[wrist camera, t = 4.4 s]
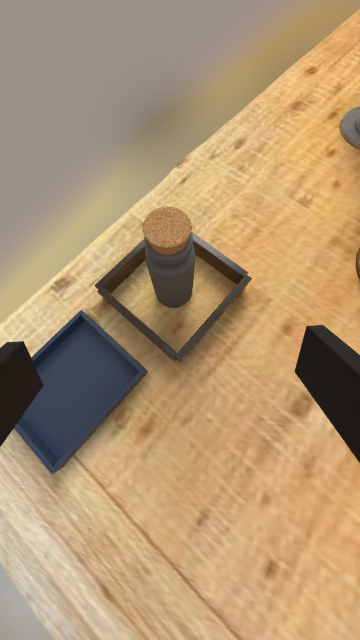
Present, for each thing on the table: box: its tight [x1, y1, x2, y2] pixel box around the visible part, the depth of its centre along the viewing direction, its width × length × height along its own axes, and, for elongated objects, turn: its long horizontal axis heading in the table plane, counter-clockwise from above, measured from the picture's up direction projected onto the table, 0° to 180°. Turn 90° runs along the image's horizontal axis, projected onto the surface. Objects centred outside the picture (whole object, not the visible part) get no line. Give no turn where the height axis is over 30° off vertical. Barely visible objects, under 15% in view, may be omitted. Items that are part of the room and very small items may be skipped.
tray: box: [14, 310, 148, 474], centre depth 30 cm, size 16×13×2 cm
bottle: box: [143, 207, 195, 308], centre depth 28 cm, size 6×6×15 cm
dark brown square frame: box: [95, 233, 252, 363], centre depth 34 cm, size 17×17×3 cm
